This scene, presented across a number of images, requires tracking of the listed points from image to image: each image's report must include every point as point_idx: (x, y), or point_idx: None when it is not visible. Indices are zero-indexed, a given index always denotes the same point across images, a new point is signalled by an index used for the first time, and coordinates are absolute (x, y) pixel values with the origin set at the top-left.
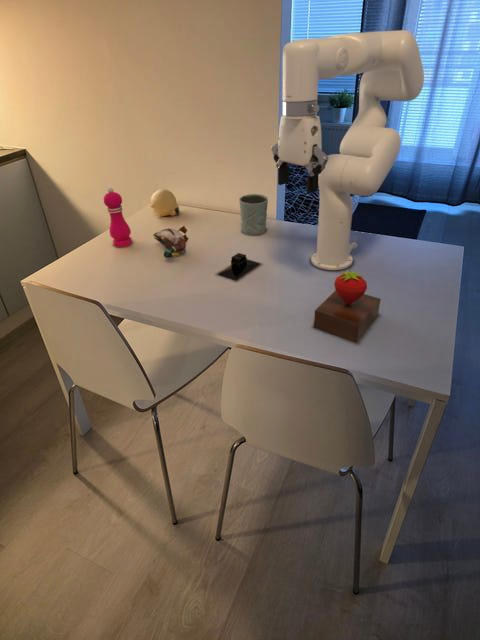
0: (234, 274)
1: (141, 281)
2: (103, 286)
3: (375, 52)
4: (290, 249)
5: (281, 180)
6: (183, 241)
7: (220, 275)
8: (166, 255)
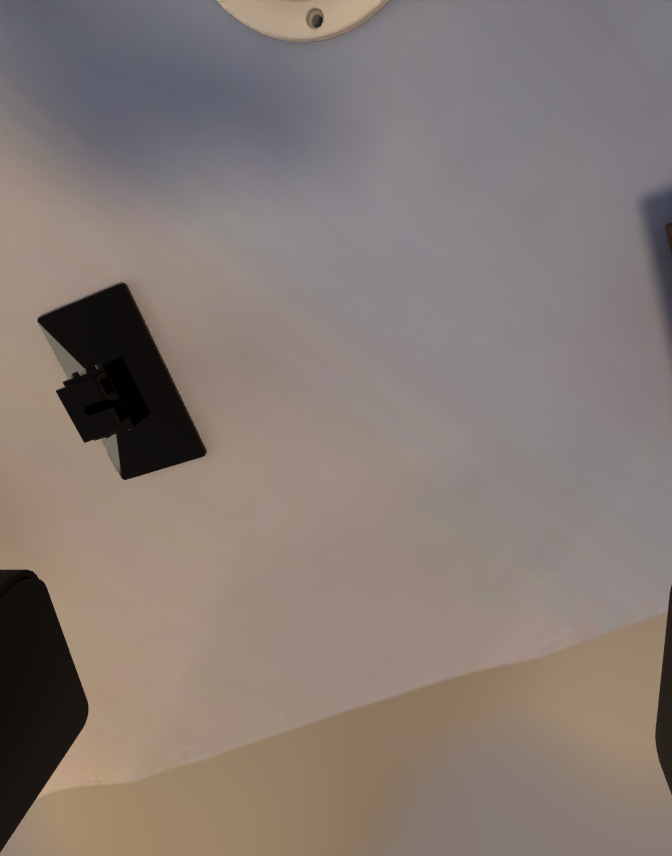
0: (166, 440)
1: None
2: None
3: None
4: (41, 18)
5: (47, 749)
6: None
7: (136, 475)
8: None
